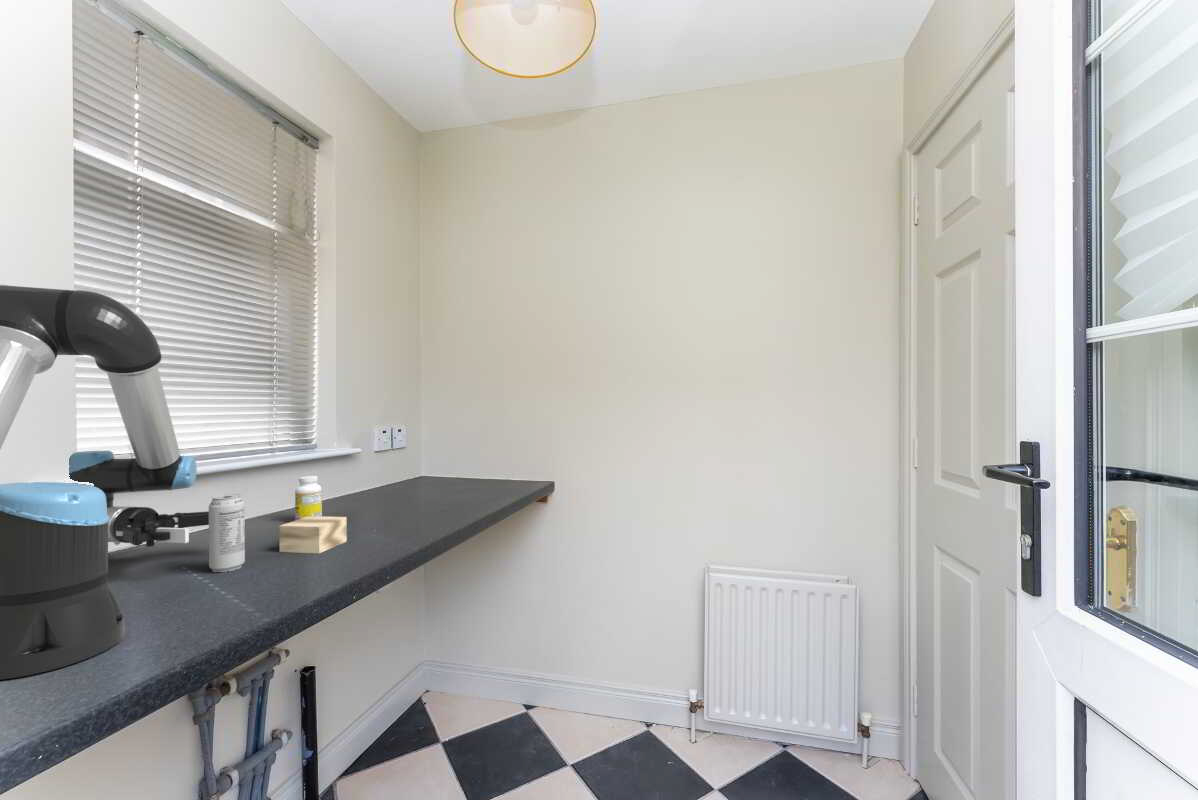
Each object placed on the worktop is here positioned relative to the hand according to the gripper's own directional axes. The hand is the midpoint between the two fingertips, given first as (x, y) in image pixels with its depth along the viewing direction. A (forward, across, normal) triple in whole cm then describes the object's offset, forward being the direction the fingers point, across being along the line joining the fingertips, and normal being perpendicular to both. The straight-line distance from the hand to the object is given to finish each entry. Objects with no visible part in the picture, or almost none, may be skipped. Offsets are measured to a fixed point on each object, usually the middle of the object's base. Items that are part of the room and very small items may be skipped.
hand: (217, 527), depth 109 cm
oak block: (+10, -16, -8) cm, 21 cm away
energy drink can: (+3, +1, -8) cm, 9 cm away
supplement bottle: (-9, -39, -8) cm, 41 cm away
